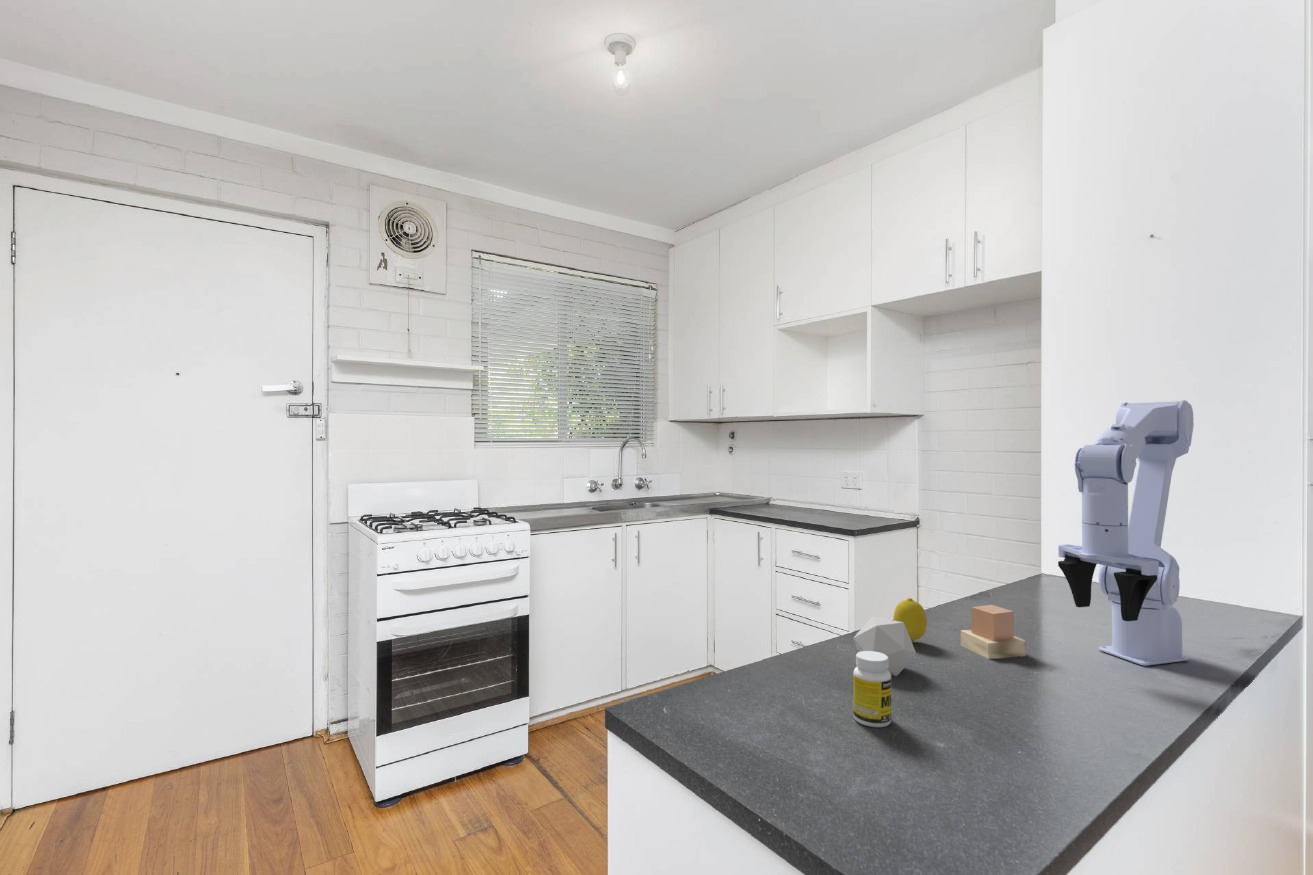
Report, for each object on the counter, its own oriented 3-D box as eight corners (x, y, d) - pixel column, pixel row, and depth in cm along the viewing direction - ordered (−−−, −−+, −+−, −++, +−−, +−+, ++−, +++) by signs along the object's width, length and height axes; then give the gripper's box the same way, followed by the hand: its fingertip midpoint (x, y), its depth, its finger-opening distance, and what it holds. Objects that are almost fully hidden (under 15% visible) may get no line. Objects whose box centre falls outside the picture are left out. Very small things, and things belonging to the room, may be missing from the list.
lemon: (930, 648, 108) (929, 602, 108) (896, 646, 109) (896, 601, 109) (923, 638, 114) (922, 594, 114) (891, 636, 115) (890, 593, 115)
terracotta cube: (991, 630, 110) (991, 604, 110) (1013, 637, 106) (1013, 611, 106) (971, 632, 109) (971, 607, 109) (993, 640, 104) (993, 613, 104)
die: (924, 673, 99) (899, 615, 104) (922, 662, 92) (895, 601, 97) (873, 688, 100) (851, 630, 106) (868, 678, 94) (844, 617, 99)
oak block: (996, 644, 111) (995, 628, 111) (1025, 658, 104) (1025, 640, 104) (960, 647, 110) (960, 630, 110) (988, 661, 103) (988, 643, 103)
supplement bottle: (887, 731, 78) (886, 664, 78) (849, 722, 81) (848, 657, 81) (895, 716, 82) (894, 653, 82) (858, 708, 85) (858, 647, 85)
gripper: (1042, 518, 101) (1043, 602, 101) (1131, 531, 87) (1131, 629, 87) (1077, 516, 102) (1078, 599, 102) (1170, 529, 88) (1170, 625, 88)
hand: (1105, 613), depth 95 cm, fingers open, 7 cm apart
